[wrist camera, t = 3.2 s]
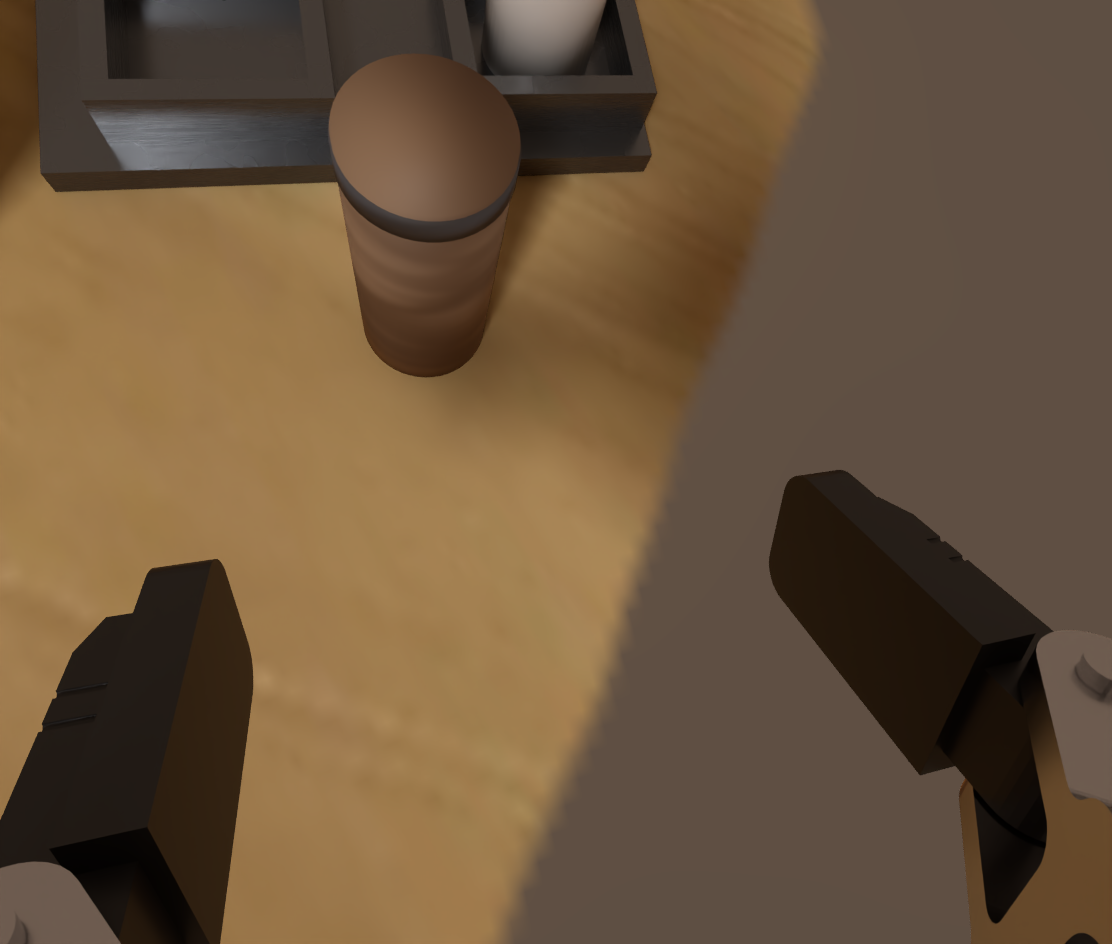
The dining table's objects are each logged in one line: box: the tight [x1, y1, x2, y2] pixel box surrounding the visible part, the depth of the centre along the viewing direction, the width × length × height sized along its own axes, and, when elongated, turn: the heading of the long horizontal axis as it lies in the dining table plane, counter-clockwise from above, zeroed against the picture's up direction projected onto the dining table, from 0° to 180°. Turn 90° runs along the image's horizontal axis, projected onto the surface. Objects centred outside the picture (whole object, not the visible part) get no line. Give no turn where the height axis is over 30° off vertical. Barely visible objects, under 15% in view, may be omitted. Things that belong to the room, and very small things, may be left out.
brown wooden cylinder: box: [328, 54, 521, 377], centre depth 21 cm, size 4×4×10 cm
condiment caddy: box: [36, 0, 657, 192], centre depth 26 cm, size 22×10×3 cm, turn 101°
